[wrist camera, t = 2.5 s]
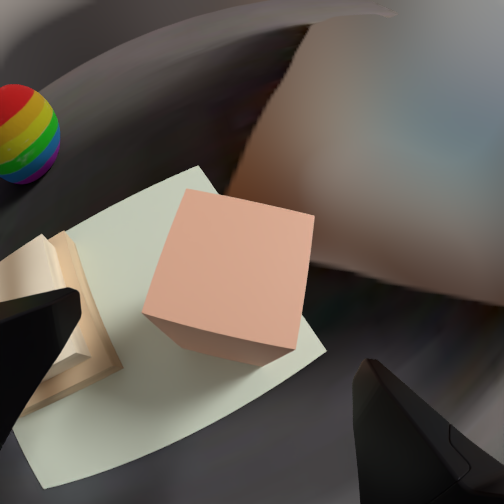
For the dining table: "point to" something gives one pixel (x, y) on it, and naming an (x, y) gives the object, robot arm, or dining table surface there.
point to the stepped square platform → (85, 333)
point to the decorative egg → (26, 134)
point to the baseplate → (141, 354)
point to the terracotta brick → (232, 278)
